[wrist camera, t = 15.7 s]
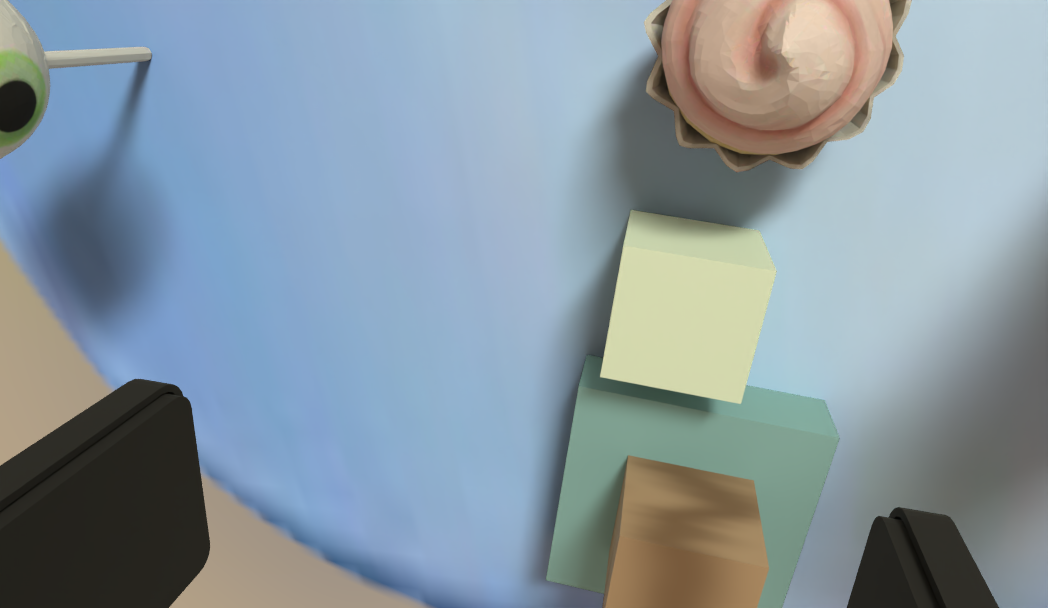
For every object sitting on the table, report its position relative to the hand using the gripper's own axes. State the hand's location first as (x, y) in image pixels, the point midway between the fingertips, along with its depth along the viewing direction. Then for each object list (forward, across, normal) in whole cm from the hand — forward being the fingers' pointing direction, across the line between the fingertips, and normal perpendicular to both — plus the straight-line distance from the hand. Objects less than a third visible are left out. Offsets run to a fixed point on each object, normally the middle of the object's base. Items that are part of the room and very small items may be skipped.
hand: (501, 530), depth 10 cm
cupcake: (+26, -5, -6) cm, 27 cm away
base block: (+26, -4, +16) cm, 31 cm away
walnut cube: (+22, -4, +16) cm, 28 cm away
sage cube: (+26, -3, +5) cm, 27 cm away
